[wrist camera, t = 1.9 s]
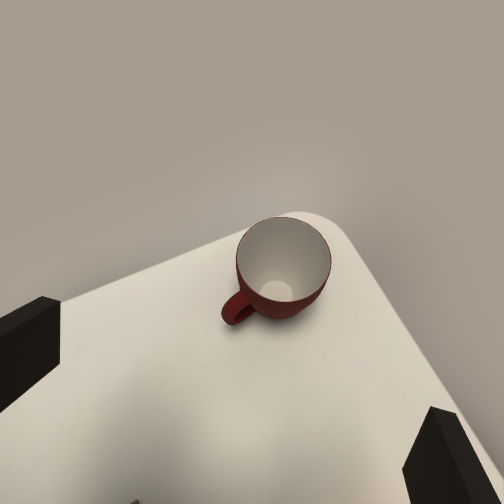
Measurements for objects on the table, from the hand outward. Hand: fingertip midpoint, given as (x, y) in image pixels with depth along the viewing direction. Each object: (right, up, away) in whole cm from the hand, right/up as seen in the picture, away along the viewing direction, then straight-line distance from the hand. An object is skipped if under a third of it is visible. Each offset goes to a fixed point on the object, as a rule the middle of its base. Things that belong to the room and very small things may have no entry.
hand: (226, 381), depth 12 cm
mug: (+3, -1, +25) cm, 26 cm away
